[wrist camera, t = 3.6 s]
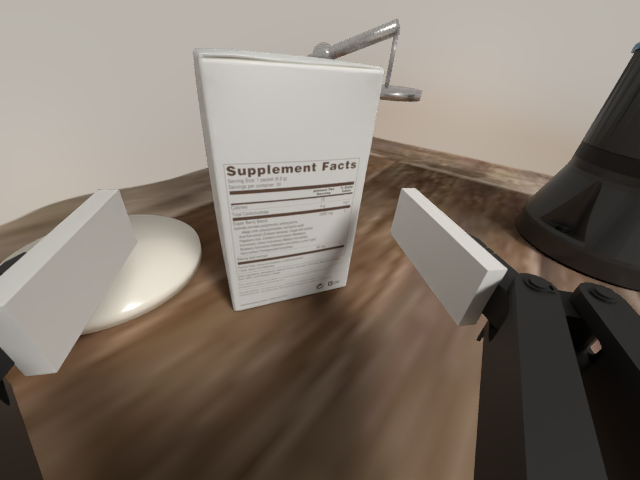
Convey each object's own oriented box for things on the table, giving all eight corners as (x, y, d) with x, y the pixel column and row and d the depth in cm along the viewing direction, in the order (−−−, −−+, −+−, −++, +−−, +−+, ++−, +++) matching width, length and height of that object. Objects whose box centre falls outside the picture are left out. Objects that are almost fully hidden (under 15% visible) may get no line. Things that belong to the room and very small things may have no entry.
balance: (399, 200, 36) (445, 25, 26) (382, 222, 31) (431, 13, 21) (266, 163, 44) (262, 18, 34) (235, 175, 39) (219, 9, 29)
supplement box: (219, 242, 26) (189, 45, 17) (310, 229, 29) (322, 57, 20) (230, 315, 19) (189, 46, 10) (349, 289, 22) (390, 64, 13)
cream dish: (236, 257, 24) (234, 245, 23) (53, 383, 14) (41, 369, 13) (142, 213, 29) (138, 201, 28) (-41, 284, 19) (-54, 270, 18)
